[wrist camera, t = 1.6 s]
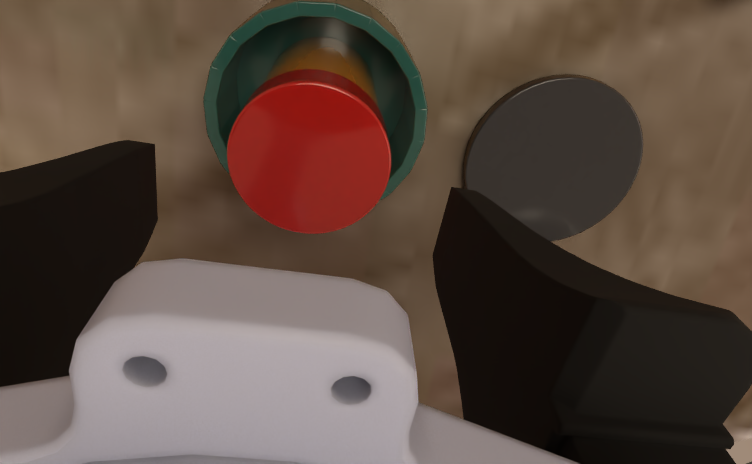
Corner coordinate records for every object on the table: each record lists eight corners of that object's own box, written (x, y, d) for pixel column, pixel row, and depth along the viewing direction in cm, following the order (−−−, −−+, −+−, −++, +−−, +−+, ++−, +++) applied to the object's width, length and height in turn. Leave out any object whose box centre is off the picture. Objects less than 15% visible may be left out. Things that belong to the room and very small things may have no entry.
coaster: (477, 253, 26) (480, 259, 26) (448, 102, 22) (450, 106, 22) (637, 213, 25) (643, 219, 25) (636, 50, 22) (643, 54, 21)
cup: (268, 191, 24) (254, 238, 20) (197, 20, 20) (164, 41, 17) (430, 148, 23) (445, 189, 20) (388, -38, 19) (397, -30, 16)
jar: (287, 158, 23) (262, 250, 16) (246, 51, 20) (197, 108, 14) (391, 130, 22) (408, 213, 16) (361, 17, 20) (367, 60, 13)
